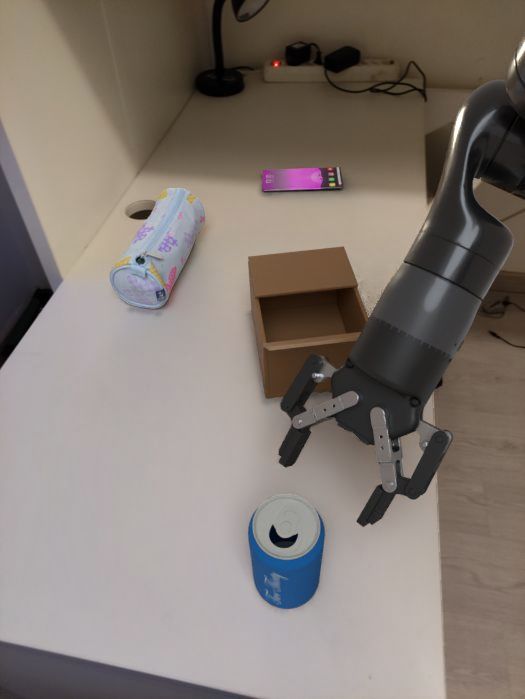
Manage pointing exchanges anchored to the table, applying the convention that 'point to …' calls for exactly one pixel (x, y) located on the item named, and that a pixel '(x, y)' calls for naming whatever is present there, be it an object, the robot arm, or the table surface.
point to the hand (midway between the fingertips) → (322, 492)
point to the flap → (312, 341)
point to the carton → (302, 311)
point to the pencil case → (159, 250)
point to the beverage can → (286, 550)
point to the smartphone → (302, 179)
